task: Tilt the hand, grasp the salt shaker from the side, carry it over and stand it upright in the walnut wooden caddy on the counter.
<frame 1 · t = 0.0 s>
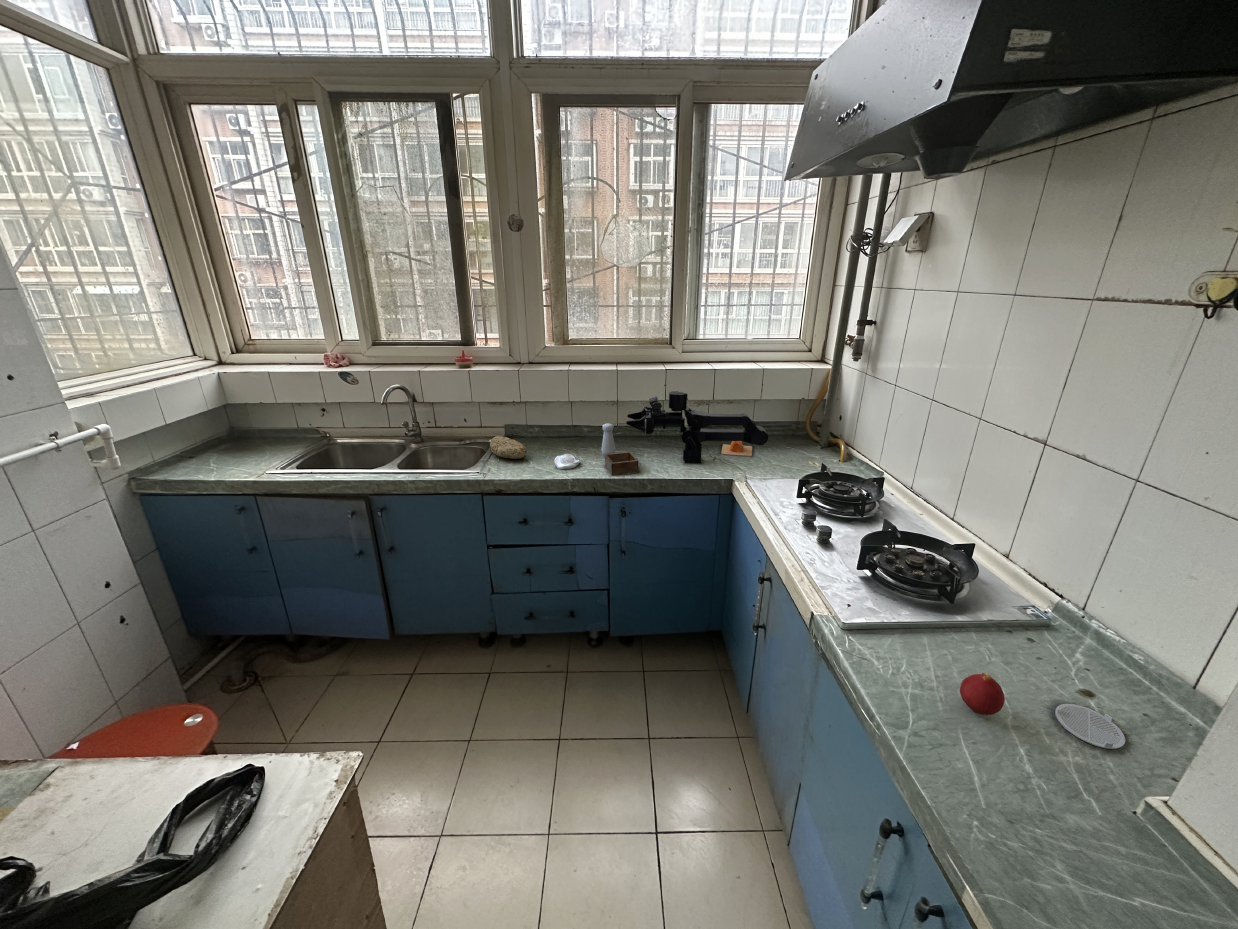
hand: (626, 419, 188), 17 cm above the worktop, tool horizontal, fingers open, 9 cm apart
drain cover: (1088, 726, 79), on the worktop
board with orange mound: (736, 450, 203), on the worktop
caddy: (621, 468, 185), on the worktop
tan oval lump: (508, 455, 201), on the worktop
white lumpy mound: (567, 465, 190), on the worktop
onion: (975, 712, 82), on the worktop
salt shaker: (608, 455, 199), on the worktop
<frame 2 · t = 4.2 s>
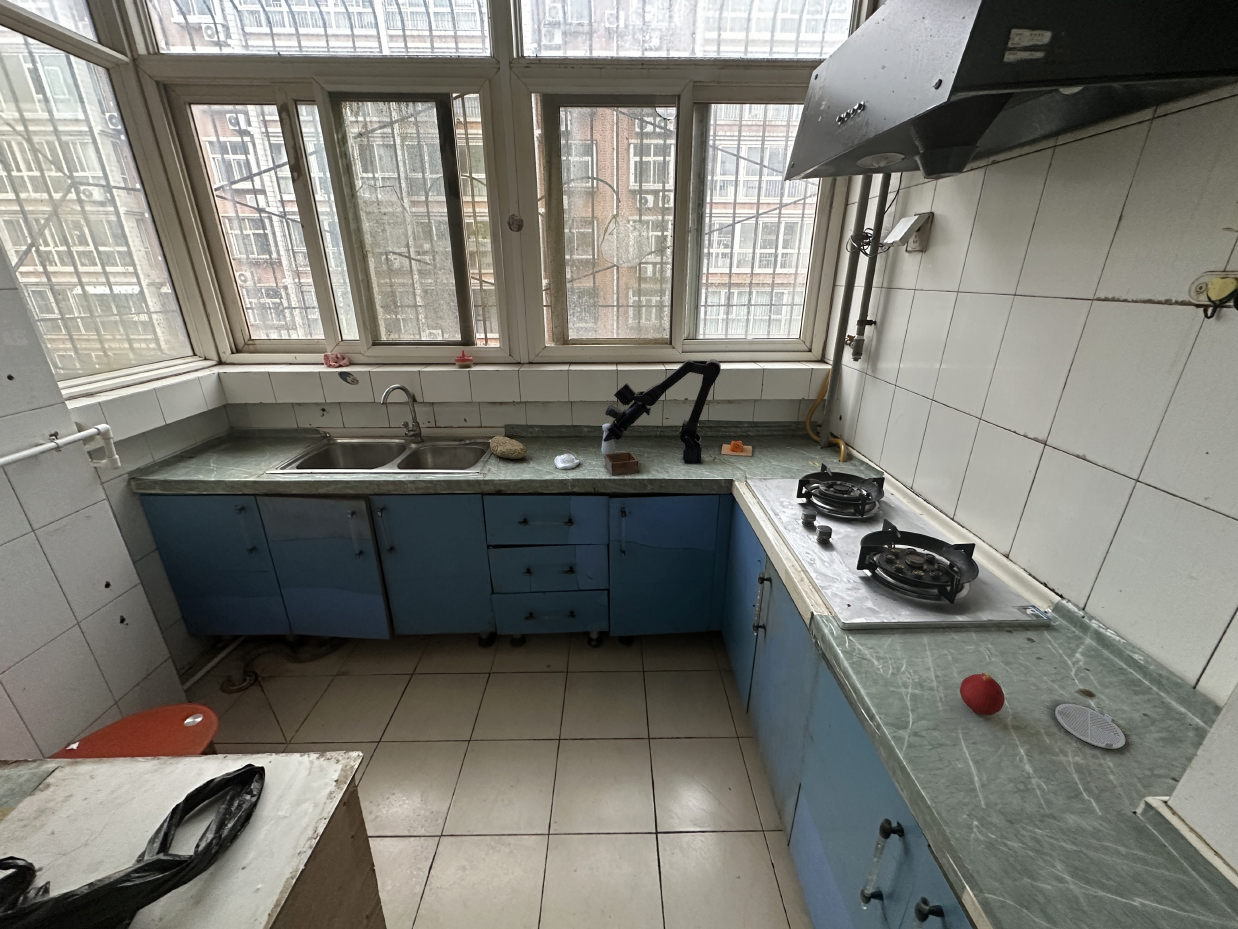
hand: (604, 439, 197), 7 cm above the worktop, tool tilted 45°, fingers closed on salt shaker, 3 cm apart
salt shaker: (608, 455, 199), on the worktop, touching gripper
everything else where it was.
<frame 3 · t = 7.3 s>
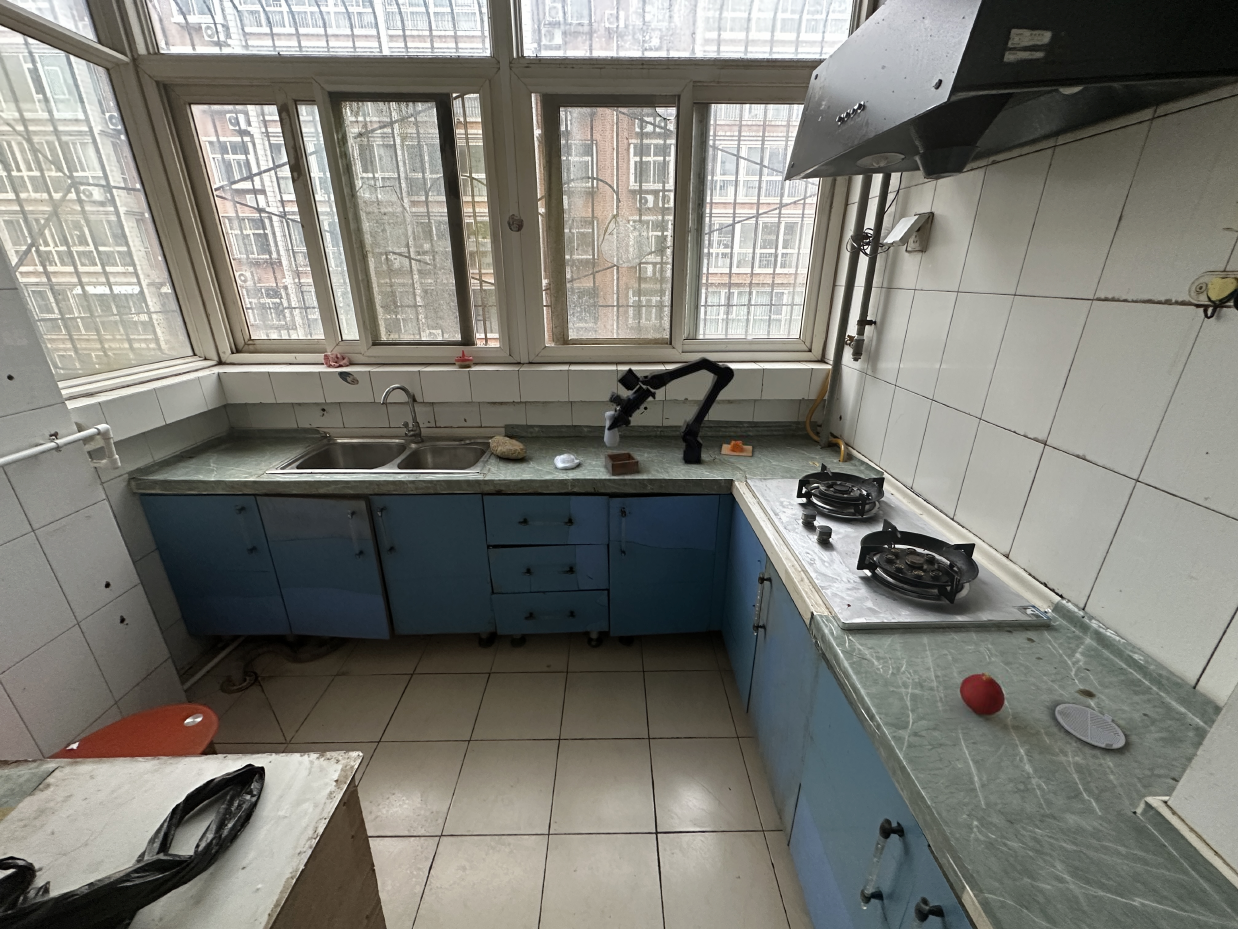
hand: (607, 428, 188), 13 cm above the worktop, tool tilted 45°, fingers closed on salt shaker, 3 cm apart
salt shaker: (612, 445, 191), point 7 cm above the worktop, touching gripper
everything else where it was.
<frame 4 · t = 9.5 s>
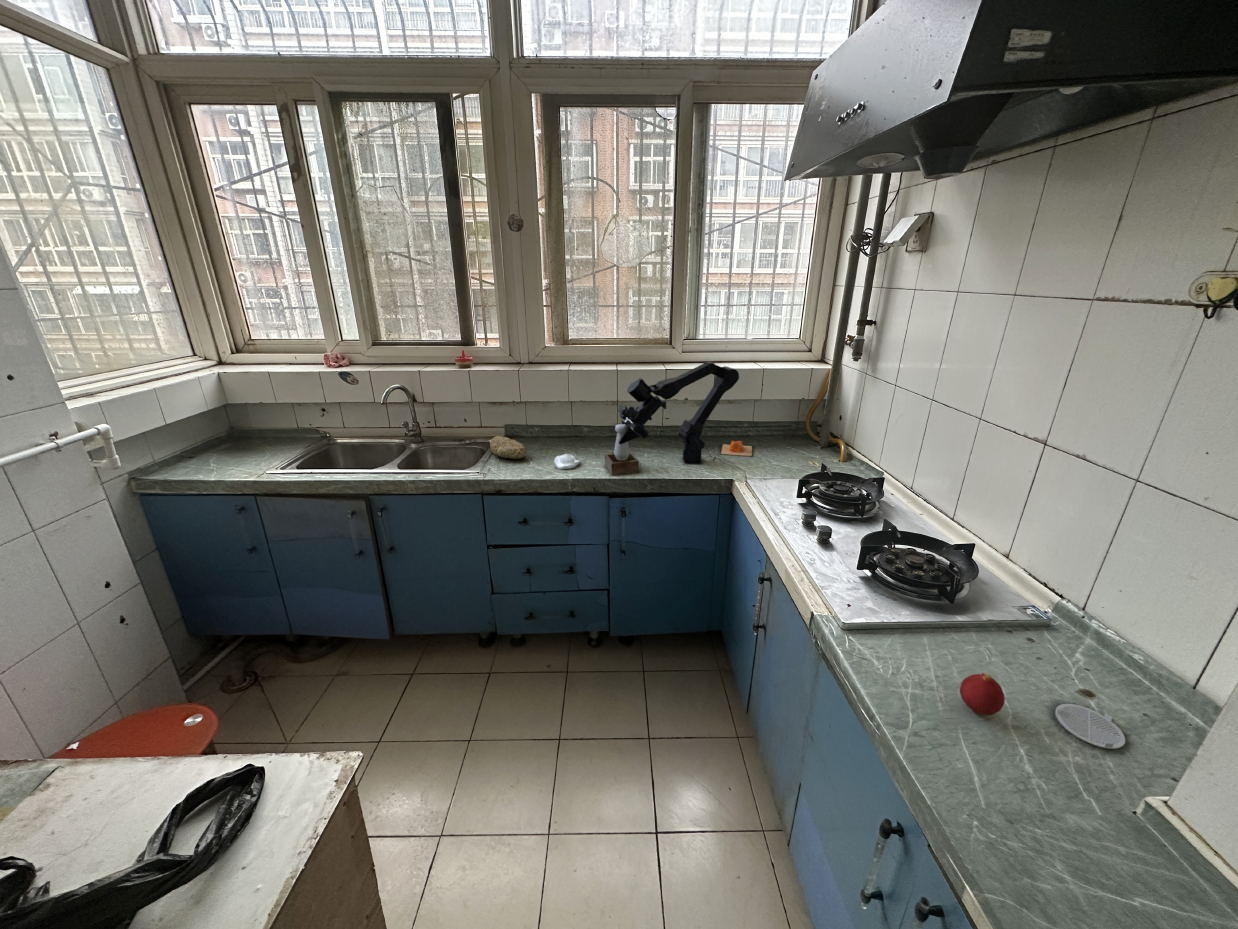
hand: (618, 442, 181), 11 cm above the worktop, tool tilted 45°, fingers closed on salt shaker, 3 cm apart
salt shaker: (622, 459, 184), point 4 cm above the worktop, touching gripper
everything else where it was.
when the fingers open (7 cm above the worktop, at t = 10.7 s): salt shaker stays where it is, resting on caddy.
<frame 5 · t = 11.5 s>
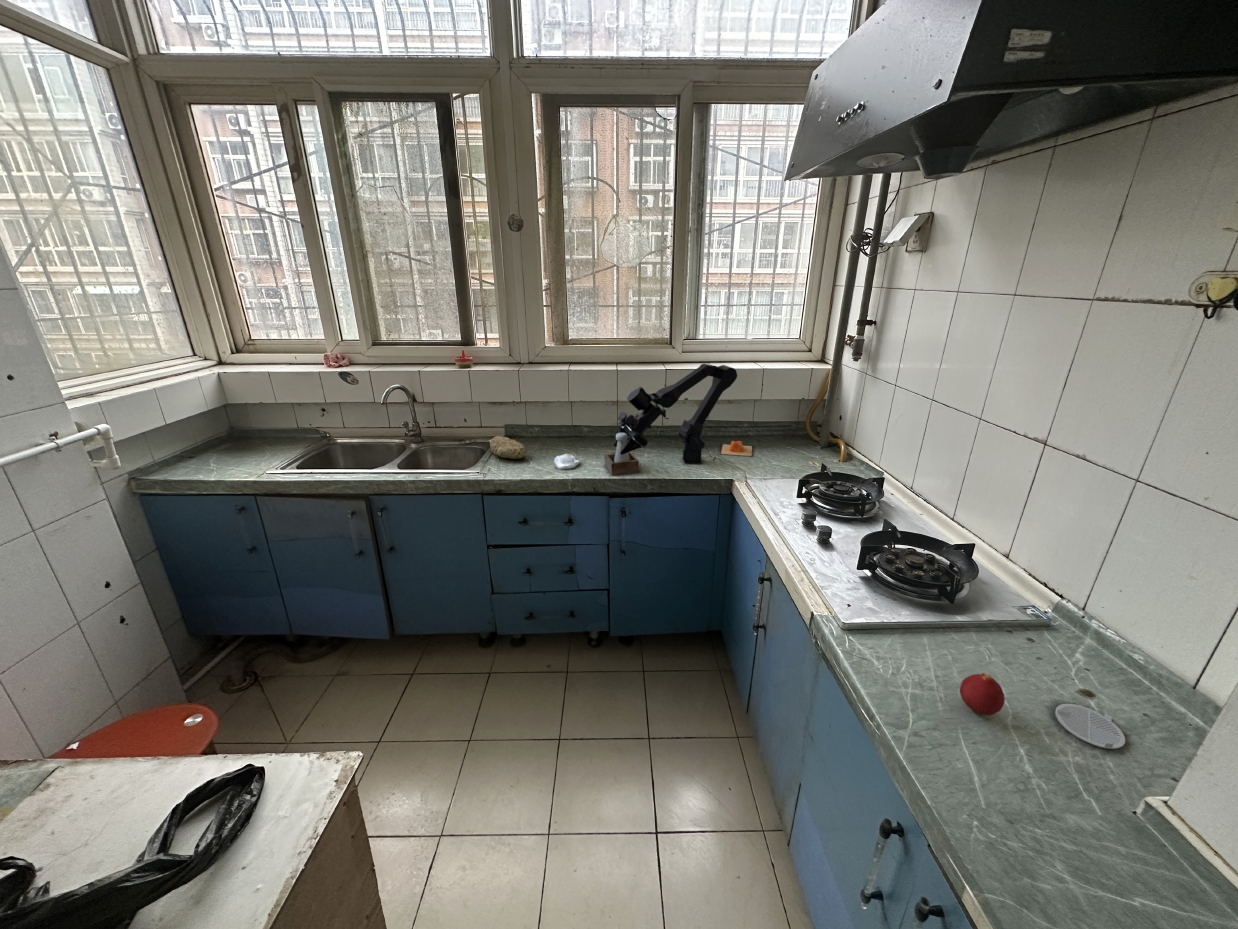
hand: (617, 449, 182), 8 cm above the worktop, tool tilted 45°, fingers open, 9 cm apart
salt shaker: (622, 467, 185), point 1 cm above the worktop, touching caddy
everything else where it was.
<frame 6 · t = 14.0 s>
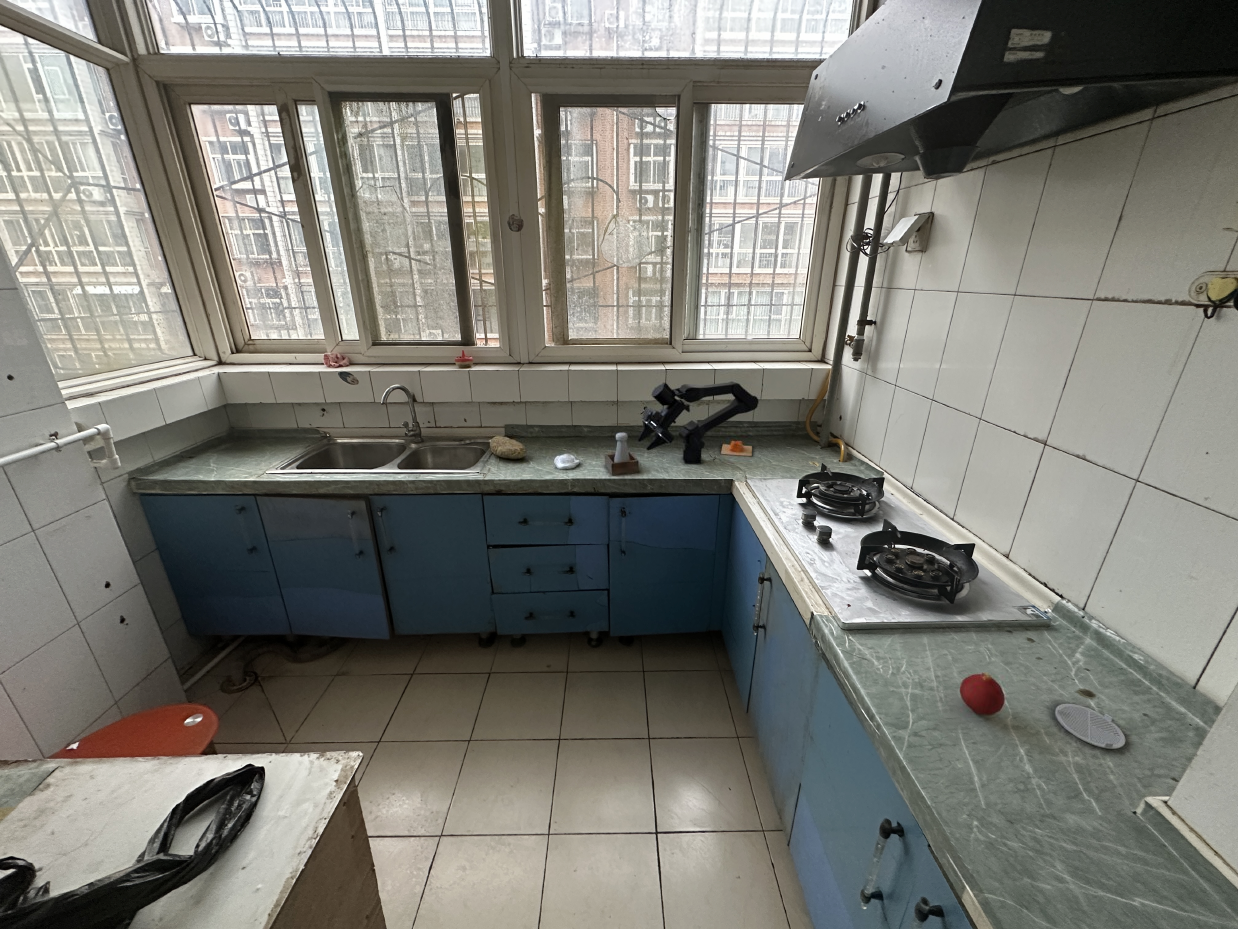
hand: (642, 445, 185), 8 cm above the worktop, tool tilted 45°, fingers open, 9 cm apart
nothing on the worktop moved.
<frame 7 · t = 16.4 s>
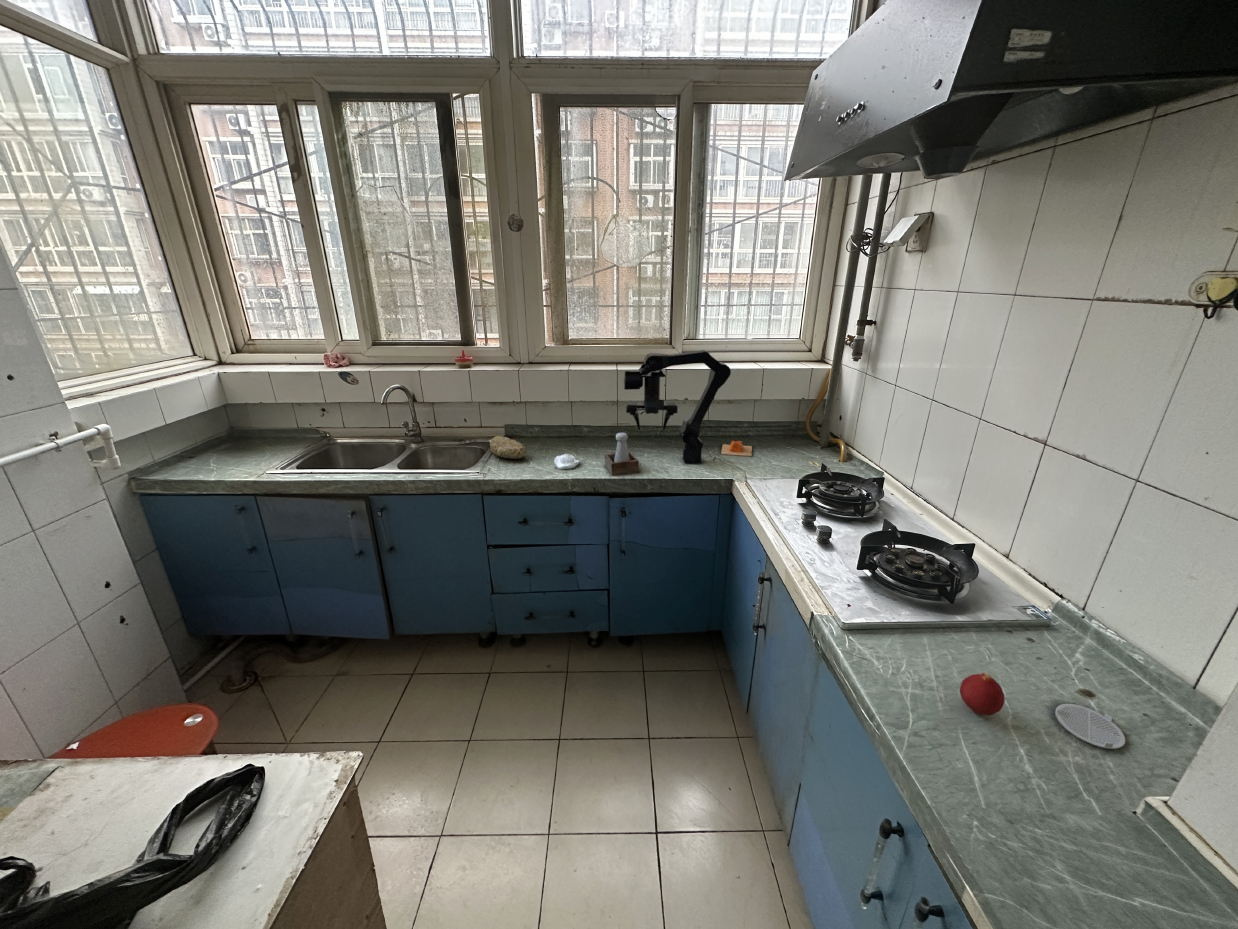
hand: (651, 429, 187), 13 cm above the worktop, tool pointing down, fingers open, 9 cm apart
nothing on the worktop moved.
at the end: salt shaker 0.2 cm off-centre in the caddy, point 0.6 cm above the caddy's base; salt shaker tilted 0°; the gripper is holding nothing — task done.
